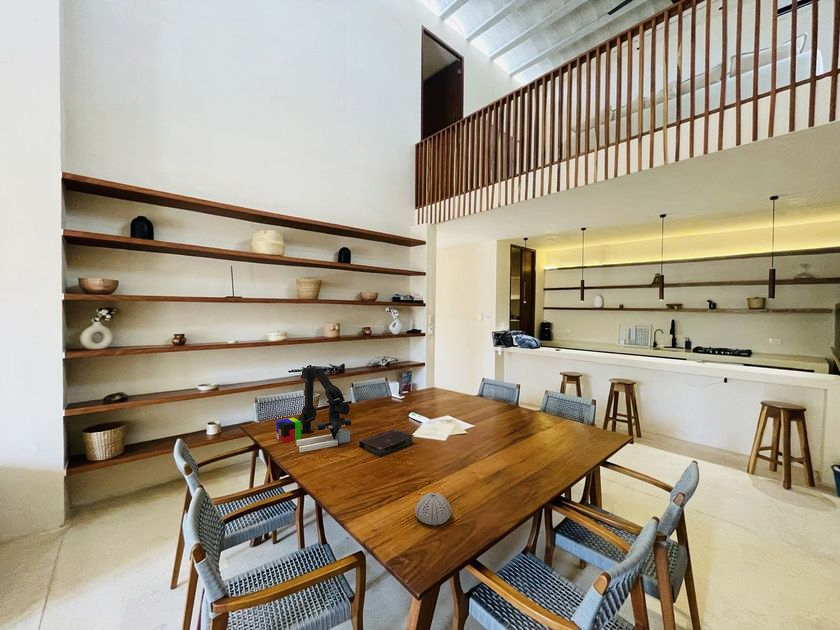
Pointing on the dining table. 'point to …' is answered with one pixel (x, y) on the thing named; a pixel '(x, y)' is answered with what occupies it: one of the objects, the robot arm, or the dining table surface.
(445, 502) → the sea urchin shell
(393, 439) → the diary
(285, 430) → the puzzle toy
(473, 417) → the dining table surface
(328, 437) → the chute
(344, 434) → the block
